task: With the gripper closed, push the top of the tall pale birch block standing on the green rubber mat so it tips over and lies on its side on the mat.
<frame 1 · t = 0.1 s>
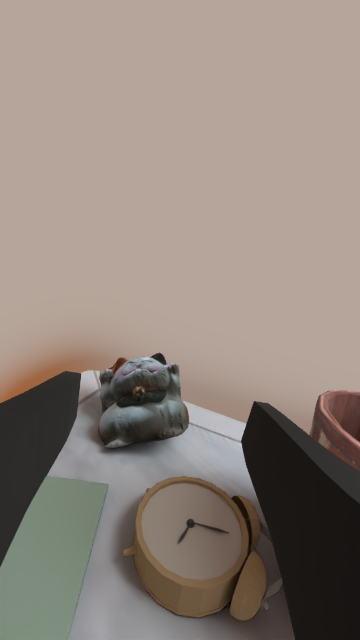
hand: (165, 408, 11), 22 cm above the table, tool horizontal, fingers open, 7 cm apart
pottery: (358, 605, 25), on the table
alarm clock: (202, 556, 26), on the table
lucky cat figurine: (134, 430, 43), on the table
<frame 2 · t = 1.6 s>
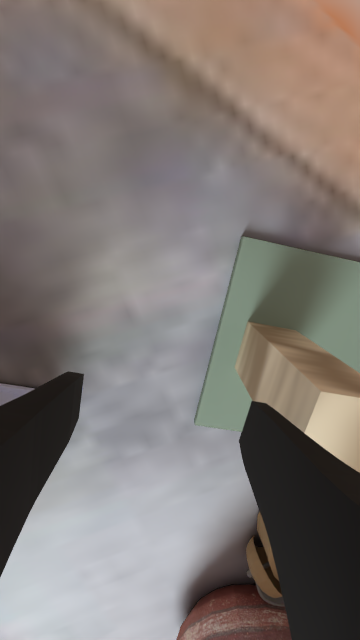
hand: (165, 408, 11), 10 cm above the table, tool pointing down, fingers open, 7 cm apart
rubber mat: (328, 358, 22), on the table
pottery: (235, 612, 31), on the table
alarm clock: (297, 521, 28), on the table
birch block: (264, 349, 21), point 1 cm above the table, touching rubber mat
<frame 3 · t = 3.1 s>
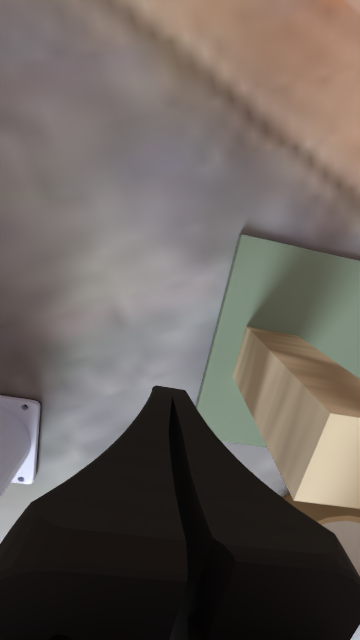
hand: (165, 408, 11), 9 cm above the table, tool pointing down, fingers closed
rubber mat: (333, 365, 20), on the table
alarm clock: (299, 537, 26), on the table
birch block: (264, 356, 19), point 1 cm above the table, touching rubber mat
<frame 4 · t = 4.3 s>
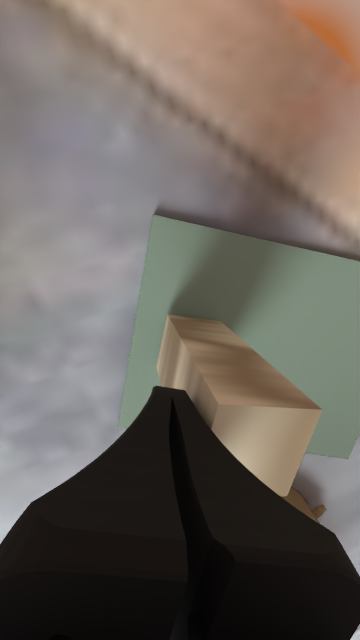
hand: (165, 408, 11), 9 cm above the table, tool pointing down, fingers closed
rubber mat: (263, 353, 20), on the table
alarm clock: (243, 531, 26), on the table
birch block: (188, 344, 18), point 1 cm above the table, tilted 10°, touching rubber mat
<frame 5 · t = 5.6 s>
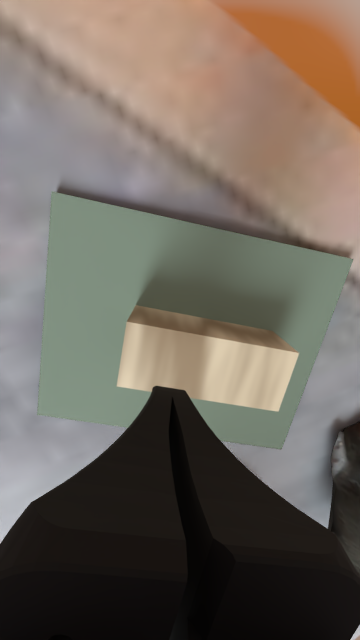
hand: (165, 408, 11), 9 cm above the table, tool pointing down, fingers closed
rubber mat: (185, 338, 19), on the table
birch block: (126, 342, 16), point 3 cm above the table, tilted 90°, touching rubber mat
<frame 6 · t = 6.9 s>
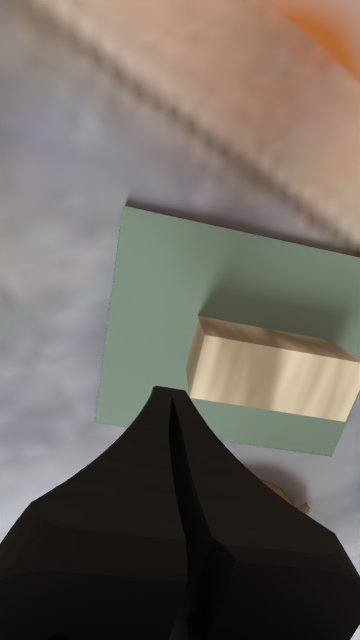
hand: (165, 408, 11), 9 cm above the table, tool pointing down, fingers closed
rubber mat: (241, 348, 19), on the table
birch block: (193, 353, 17), point 3 cm above the table, tilted 90°, touching rubber mat
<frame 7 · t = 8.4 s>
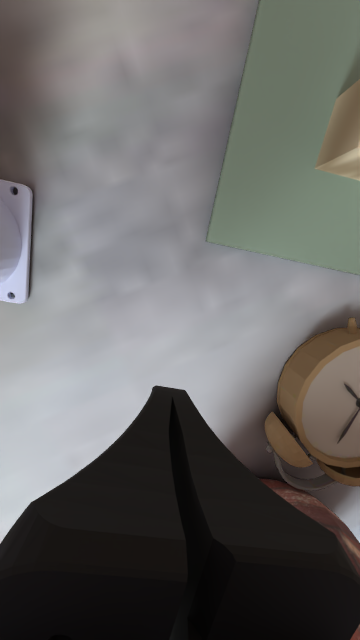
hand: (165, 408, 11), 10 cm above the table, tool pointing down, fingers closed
pottery: (248, 516, 27), on the table
alarm clock: (322, 398, 24), on the table
birch block: (345, 120, 15), point 3 cm above the table, tilted 90°, touching rubber mat
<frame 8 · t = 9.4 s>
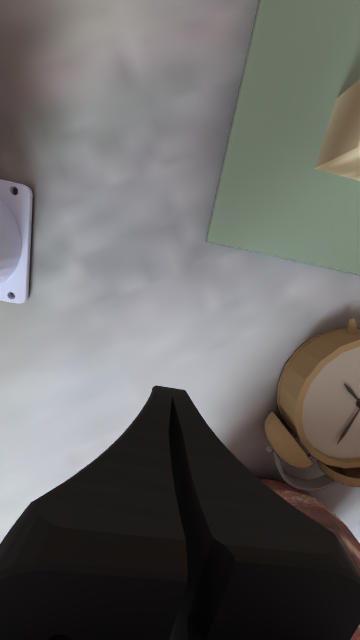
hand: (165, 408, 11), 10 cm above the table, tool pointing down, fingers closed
pottery: (248, 516, 27), on the table
alarm clock: (322, 398, 24), on the table
birch block: (345, 120, 15), point 3 cm above the table, tilted 90°, touching rubber mat
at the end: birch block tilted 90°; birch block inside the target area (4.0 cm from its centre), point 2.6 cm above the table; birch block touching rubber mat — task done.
